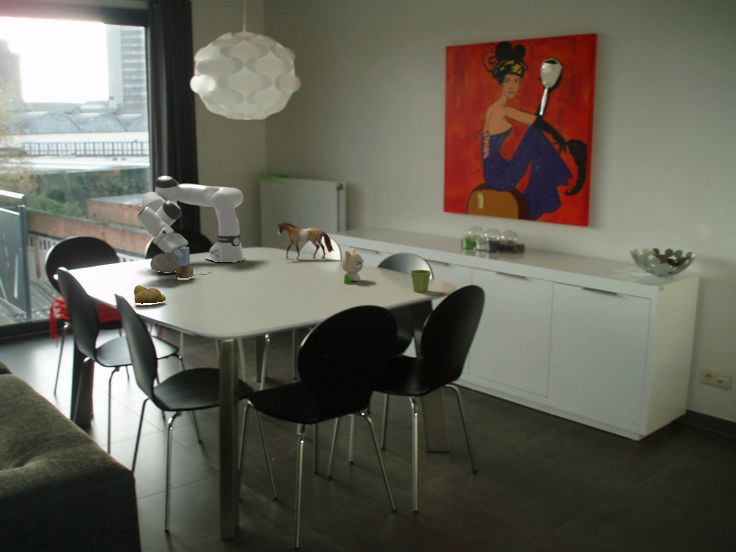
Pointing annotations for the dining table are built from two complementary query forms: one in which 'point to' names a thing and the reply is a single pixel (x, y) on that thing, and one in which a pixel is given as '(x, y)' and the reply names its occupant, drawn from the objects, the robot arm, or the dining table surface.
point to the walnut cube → (184, 271)
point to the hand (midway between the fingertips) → (185, 255)
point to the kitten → (352, 266)
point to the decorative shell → (165, 262)
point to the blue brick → (186, 258)
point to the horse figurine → (305, 237)
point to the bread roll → (147, 295)
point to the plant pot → (420, 280)
